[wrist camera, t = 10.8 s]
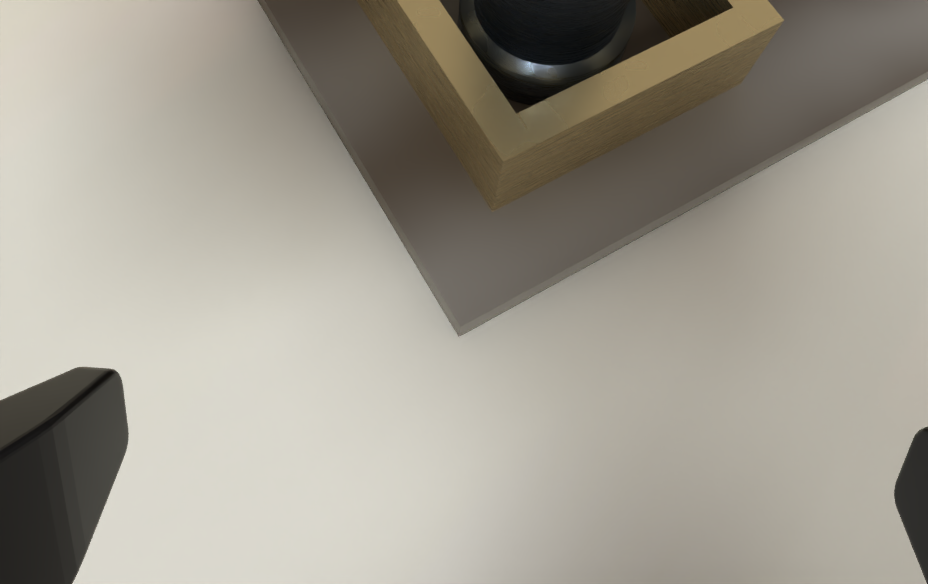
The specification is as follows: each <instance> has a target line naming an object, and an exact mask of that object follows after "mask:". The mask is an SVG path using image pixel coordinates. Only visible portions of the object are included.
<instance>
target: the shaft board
mask: <svg viewBox="0 0 928 584" xmlns="http://www.w3.org/2000/svg"><path fill="white" fill-rule="evenodd" d="M439 1H440V2H441V3H442V5H443V6H444V8H445V9H446V11H447V12H448V14H449V15H450V17H451V18H452V20H453V21H454V23H455V24H456V26H457V27H458V17H459V3H460V0H439ZM635 1H636V18H635V24H634V27H633V31H632V33H631V36H630V38H629V41H628V43H627V46H626V48H625V51H624V53H623V56H622V58H621V61H620V63H621V62H623V61H625V60H627V59H629V58H631V57H633V56H635V55H637V54H639V53H641V52H643V51H645V50H647V49H649V48H651V47H654V46H656V45H658V44H660V43H662V42H664V41H666V40H668V39H670V37H669V36H668V34H667V33H666V32H665V31H664V29H663V28H662V27H661V25H660V24H659V23H658V21H657V20H656V19H655V18H654V16H653V15H652V14H651V12H650V11H649V10H648V8H647V7H646V6H645V5H644V3H643V2H642V1H641V0H635ZM768 1H769V2H770V4H771V5H772V6H773V7H774V8H775V10H776V11H777V12H778V13H779V14H780V16H781V17H782V18H783V19H784V21H783V23H782V24H781V26H780V27H779V29H778V30H777V31H776V33H775V34H774V36H773V37H772V39H771V40H770V42H769V43H768V45H767V46H766V48H765V49H764V51H763V52H762V54H761V55H760V56H759V58H758V59H757V61H756V62H755V64H754V65H753V67H752V68H751V70H750V71H749V73H748V74H747V76H746V77H745V78H744V80H743V81H742V83H741V84H739V85H737V86H735V87H733V88H731V89H729V90H728V91H726V92H724V93H722V94H720V95H718V96H716V97H714V98H712V99H710V100H708V101H706V102H704V103H702V104H700V105H698V106H697V107H695V108H693V109H691V110H689V111H687V112H685V113H683V114H681V115H679V116H677V117H675V118H673V119H671V120H669V121H667V122H666V123H664V124H662V125H660V126H658V127H656V128H654V129H652V130H650V131H648V132H646V133H644V134H642V135H640V136H638V137H636V138H635V139H633V140H631V141H629V142H627V143H625V144H623V145H621V146H619V147H617V148H615V149H613V150H611V151H609V152H607V153H605V154H604V155H602V156H600V157H598V158H596V159H594V160H592V161H590V162H588V163H586V164H584V165H582V166H580V167H578V168H576V169H574V170H573V171H571V172H569V173H567V174H565V175H563V176H561V177H559V178H557V179H555V180H553V181H551V182H549V183H547V184H545V185H543V186H541V187H540V188H538V189H536V190H534V191H532V192H530V193H528V194H526V195H524V196H522V197H520V198H518V199H516V200H514V201H512V202H510V203H509V204H507V205H505V206H503V207H501V208H499V209H497V210H495V211H493V212H492V211H491V209H490V208H489V206H488V205H487V203H486V201H485V200H484V198H483V197H482V195H481V194H480V192H479V191H478V189H477V187H476V186H475V184H474V183H473V181H472V180H471V178H470V177H469V175H468V173H467V172H466V170H465V169H464V167H463V166H462V164H461V162H460V161H459V159H458V158H457V156H456V155H455V153H454V152H453V150H452V148H451V147H450V145H449V144H448V142H447V141H446V139H445V138H444V136H443V134H442V133H441V131H440V130H439V128H438V127H437V125H436V124H435V122H434V120H433V119H432V117H431V116H430V114H429V113H428V111H427V109H426V108H425V106H424V105H423V103H422V102H421V100H420V99H419V97H418V95H417V94H416V92H415V91H414V89H413V88H412V86H411V85H410V83H409V81H408V80H407V78H406V77H405V75H404V74H403V72H402V71H401V69H400V67H399V66H398V64H397V63H396V61H395V60H394V58H393V56H392V55H391V53H390V52H389V50H388V49H387V47H386V46H385V44H384V42H383V41H382V39H381V38H380V36H379V35H378V33H377V32H376V30H375V28H374V27H373V25H372V24H371V22H370V21H369V19H368V18H367V16H366V14H365V13H364V11H363V10H362V8H361V7H360V5H359V3H358V2H357V0H258V2H259V3H260V5H261V7H262V8H263V10H264V12H265V13H266V15H267V17H268V18H269V20H270V22H271V23H272V25H273V27H274V28H275V30H276V32H277V33H278V35H279V37H280V38H281V40H282V42H283V43H284V45H285V47H286V48H287V50H288V52H289V53H290V55H291V57H292V58H293V60H294V62H295V63H296V65H297V67H298V68H299V70H300V72H301V73H302V75H303V77H304V79H305V80H306V82H307V84H308V85H309V87H310V89H311V90H312V92H313V94H314V95H315V97H316V99H317V100H318V102H319V104H320V105H321V107H322V109H323V110H324V112H325V114H326V115H327V117H328V119H329V120H330V122H331V124H332V125H333V127H334V129H335V130H336V132H337V134H338V135H339V137H340V139H341V140H342V142H343V144H344V145H345V147H346V149H347V150H348V152H349V154H350V155H351V157H352V159H353V160H354V162H355V164H356V166H357V167H358V169H359V171H360V172H361V174H362V176H363V177H364V179H365V181H366V182H367V184H368V186H369V187H370V189H371V191H372V192H373V194H374V196H375V197H376V199H377V201H378V202H379V204H380V206H381V207H382V209H383V211H384V212H385V214H386V216H387V217H388V219H389V221H390V222H391V224H392V226H393V227H394V229H395V231H396V232H397V234H398V236H399V237H400V239H401V241H402V242H403V244H404V246H405V247H406V249H407V251H408V253H409V254H410V256H411V258H412V259H413V261H414V263H415V264H416V266H417V268H418V269H419V271H420V273H421V274H422V276H423V278H424V279H425V281H426V283H427V284H428V286H429V288H430V289H431V291H432V293H433V294H434V296H435V298H436V299H437V301H438V303H439V304H440V306H441V308H442V309H443V311H444V313H445V314H446V316H447V318H448V319H449V321H450V323H451V324H452V326H453V328H454V329H455V331H456V333H457V335H458V336H461V335H463V334H465V333H466V332H468V331H470V330H472V329H474V328H476V327H477V326H479V325H481V324H483V323H485V322H487V321H488V320H490V319H492V318H494V317H496V316H497V315H499V314H501V313H503V312H505V311H507V310H508V309H510V308H512V307H514V306H516V305H517V304H519V303H521V302H523V301H525V300H527V299H528V298H530V297H532V296H534V295H536V294H537V293H539V292H541V291H543V290H545V289H547V288H548V287H550V286H552V285H554V284H556V283H558V282H559V281H561V280H563V279H565V278H567V277H568V276H570V275H572V274H574V273H576V272H578V271H579V270H581V269H583V268H585V267H587V266H588V265H590V264H592V263H594V262H596V261H598V260H599V259H601V258H603V257H605V256H607V255H608V254H610V253H612V252H614V251H616V250H618V249H619V248H621V247H623V246H625V245H627V244H629V243H630V242H632V241H634V240H636V239H638V238H639V237H641V236H643V235H645V234H647V233H649V232H650V231H652V230H654V229H656V228H658V227H659V226H661V225H663V224H665V223H667V222H669V221H670V220H672V219H674V218H676V217H678V216H679V215H681V214H683V213H685V212H687V211H689V210H690V209H692V208H694V207H696V206H698V205H700V204H701V203H703V202H705V201H707V200H709V199H710V198H712V197H714V196H716V195H718V194H720V193H721V192H723V191H725V190H727V189H729V188H730V187H732V186H734V185H736V184H738V183H740V182H741V181H743V180H745V179H747V178H749V177H750V176H752V175H754V174H756V173H758V172H760V171H761V170H763V169H765V168H767V167H769V166H771V165H772V164H774V163H776V162H778V161H780V160H781V159H783V158H785V157H787V156H789V155H791V154H792V153H794V152H796V151H798V150H800V149H801V148H803V147H805V146H807V145H809V144H811V143H812V142H814V141H816V140H818V139H820V138H821V137H823V136H825V135H827V134H829V133H831V132H832V131H834V130H836V129H838V128H840V127H841V126H843V125H845V124H847V123H849V122H851V121H852V120H854V119H856V118H858V117H860V116H862V115H863V114H865V113H867V112H869V111H871V110H872V109H874V108H876V107H878V106H880V105H882V104H883V103H885V102H887V101H889V100H891V99H892V98H894V97H896V96H898V95H900V94H902V93H903V92H905V91H907V90H909V89H911V88H912V87H914V86H916V85H918V84H920V83H922V82H923V81H925V80H927V79H928V0H768ZM506 99H507V98H506ZM507 101H508V102H509V104H510V105H511V107H512V108H513V110H514V111H515V113H519V112H521V111H523V110H525V109H527V108H529V107H531V105H526V104H521V103H518V102H515V101H512V100H509V99H507Z"/></svg>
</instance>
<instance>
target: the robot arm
mask: <svg viewBox="0 0 928 584" xmlns="http://www.w3.org/2000/svg"><path fill="white" fill-rule="evenodd" d="M128 434H129V433H128V423H127V415H126V407H125V399H124V391H123V384H122V380H121V377H120V375H119V373H118V372H117V371H115V370H114V369H107V368H93V367H77V368H74V369H72V370H70V371H68V372H65V373H63V374H61V375H58V376H56V377H54V378H51V379H49V380H47V381H44V382H42V383H40V384H37V385H35V386H33V387H30V388H28V389H26V390H23V391H21V392H19V393H17V394H14V395H12V396H10V397H7V398H5V399H3V400H0V584H72V583H73V581H74V579H75V577H76V575H77V573H78V571H79V568H80V566H81V564H82V561H83V559H84V557H85V554H86V552H87V550H88V547H89V544H90V542H91V539H92V537H93V534H94V532H95V529H96V527H97V524H98V522H99V519H100V517H101V514H102V511H103V509H104V506H105V504H106V501H107V499H108V496H109V494H110V491H111V489H112V486H113V484H114V481H115V479H116V476H117V473H118V471H119V468H120V466H121V463H122V461H123V458H124V456H125V453H126V449H127V445H128ZM894 497H895V503H896V507H897V509H898V512H899V515H900V517H901V520H902V522H903V525H904V527H905V530H906V532H907V535H908V537H909V540H910V542H911V545H912V547H913V550H914V552H915V555H916V557H917V560H918V562H919V565H920V567H921V570H922V572H923V575H924V577H925V580H926V582H927V584H928V427H925V428H923V429H921V430H919V431H918V432H917V434H916V435H915V437H914V438H913V441H912V443H911V446H910V448H909V451H908V453H907V456H906V458H905V461H904V463H903V466H902V468H901V471H900V473H899V476H898V478H897V481H896V484H895V490H894Z"/></svg>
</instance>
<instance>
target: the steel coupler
mask: <svg viewBox="0 0 928 584" xmlns="http://www.w3.org/2000/svg"><path fill="white" fill-rule="evenodd" d="M635 18H636V1H635V0H460V3H459V17H458V29H459V30H460V32H461V33H462V34H463V36H464V37H465V39H466V40H467V42H468V43H469V45H470V46H471V48H472V49H473V51H474V52H475V54H476V55H477V57H478V58H479V60H480V61H481V62H482V64H483V65H484V67H485V68H486V70H487V71H488V73H489V74H490V76H491V77H492V79H493V80H494V82H495V83H496V85H497V86H498V88H499V89H500V90H501V92H502V93H503V95H504V96H505V98H507V99H509V100H512V101H515V102H518V103H521V104H526V105H531V106H533V105H535V104H537V103H539V102H541V101H543V100H545V99H547V98H549V97H551V96H553V95H555V94H557V93H559V92H561V91H564V90H566V89H568V88H570V87H572V86H574V85H576V84H578V83H580V82H582V81H584V80H586V79H588V78H590V77H592V76H594V75H596V74H598V73H600V72H602V71H604V70H606V69H609V68H611V67H613V66H615V65H617V64H619V63H620V61H621V58H622V56H623V53H624V51H625V48H626V46H627V43H628V41H629V38H630V36H631V33H632V31H633V27H634V24H635Z"/></svg>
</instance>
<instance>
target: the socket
mask: <svg viewBox="0 0 928 584" xmlns="http://www.w3.org/2000/svg"><path fill="white" fill-rule="evenodd" d="M641 1H642V2H643V3H644V5H645V6H646V7H647V8H648V10H649V11H650V12H651V14H652V15H653V16H654V18H655V19H656V20H657V21H658V23H659V24H660V25H661V27H662V28H663V29H664V31H665V32H666V33H667V34H668V36H669V37H670V39H668V40H666V41H664V42H662V43H660V44H658V45H656V46H654V47H651V48H649V49H647V50H645V51H643V52H641V53H639V54H637V55H635V56H633V57H631V58H629V59H627V60H625V61H623V62H621V63H619V64H617V65H615V66H613V67H611V68H609V69H606V70H604V71H602V72H600V73H598V74H596V75H594V76H592V77H590V78H588V79H586V80H584V81H582V82H580V83H578V84H576V85H574V86H572V87H570V88H568V89H566V90H564V91H561V92H559V93H557V94H555V95H553V96H551V97H549V98H547V99H545V100H543V101H541V102H539V103H537V104H535V105H533V106H531V107H529V108H527V109H525V110H523V111H521V112H519V113H515V111H514V110H513V108H512V107H511V105H510V104H509V102H508V101H507V99H506V98H505V96H504V95H503V93H502V92H501V90H500V89H499V88H498V86H497V85H496V83H495V82H494V80H493V79H492V77H491V76H490V74H489V73H488V71H487V70H486V68H485V67H484V65H483V64H482V62H481V61H480V60H479V58H478V57H477V55H476V54H475V52H474V51H473V49H472V48H471V46H470V45H469V43H468V42H467V40H466V39H465V37H464V36H463V34H462V33H461V32H460V30H459V29H458V27H457V26H456V24H455V23H454V21H453V20H452V18H451V17H450V15H449V14H448V12H447V11H446V9H445V8H444V6H443V5H442V3H441V2H440V1H439V0H357V2H358V3H359V5H360V7H361V8H362V10H363V11H364V13H365V14H366V16H367V18H368V19H369V21H370V22H371V24H372V25H373V27H374V28H375V30H376V32H377V33H378V35H379V36H380V38H381V39H382V41H383V42H384V44H385V46H386V47H387V49H388V50H389V52H390V53H391V55H392V56H393V58H394V60H395V61H396V63H397V64H398V66H399V67H400V69H401V71H402V72H403V74H404V75H405V77H406V78H407V80H408V81H409V83H410V85H411V86H412V88H413V89H414V91H415V92H416V94H417V95H418V97H419V99H420V100H421V102H422V103H423V105H424V106H425V108H426V109H427V111H428V113H429V114H430V116H431V117H432V119H433V120H434V122H435V124H436V125H437V127H438V128H439V130H440V131H441V133H442V134H443V136H444V138H445V139H446V141H447V142H448V144H449V145H450V147H451V148H452V150H453V152H454V153H455V155H456V156H457V158H458V159H459V161H460V162H461V164H462V166H463V167H464V169H465V170H466V172H467V173H468V175H469V177H470V178H471V180H472V181H473V183H474V184H475V186H476V187H477V189H478V191H479V192H480V194H481V195H482V197H483V198H484V200H485V201H486V203H487V205H488V206H489V208H490V209H491V211H492V212H493V211H495V210H497V209H499V208H501V207H503V206H505V205H507V204H509V203H510V202H512V201H514V200H516V199H518V198H520V197H522V196H524V195H526V194H528V193H530V192H532V191H534V190H536V189H538V188H540V187H541V186H543V185H545V184H547V183H549V182H551V181H553V180H555V179H557V178H559V177H561V176H563V175H565V174H567V173H569V172H571V171H573V170H574V169H576V168H578V167H580V166H582V165H584V164H586V163H588V162H590V161H592V160H594V159H596V158H598V157H600V156H602V155H604V154H605V153H607V152H609V151H611V150H613V149H615V148H617V147H619V146H621V145H623V144H625V143H627V142H629V141H631V140H633V139H635V138H636V137H638V136H640V135H642V134H644V133H646V132H648V131H650V130H652V129H654V128H656V127H658V126H660V125H662V124H664V123H666V122H667V121H669V120H671V119H673V118H675V117H677V116H679V115H681V114H683V113H685V112H687V111H689V110H691V109H693V108H695V107H697V106H698V105H700V104H702V103H704V102H706V101H708V100H710V99H712V98H714V97H716V96H718V95H720V94H722V93H724V92H726V91H728V90H729V89H731V88H733V87H735V86H737V85H739V84H741V83H742V81H743V80H744V78H745V77H746V76H747V74H748V73H749V71H750V70H751V68H752V67H753V65H754V64H755V62H756V61H757V59H758V58H759V56H760V55H761V54H762V52H763V51H764V49H765V48H766V46H767V45H768V43H769V42H770V40H771V39H772V37H773V36H774V34H775V33H776V31H777V30H778V29H779V27H780V26H781V24H782V23H783V21H784V19H783V18H782V17H781V16H780V14H779V13H778V12H777V11H776V10H775V8H774V7H773V6H772V5H771V4H770V2H769V1H768V0H641Z"/></svg>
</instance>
